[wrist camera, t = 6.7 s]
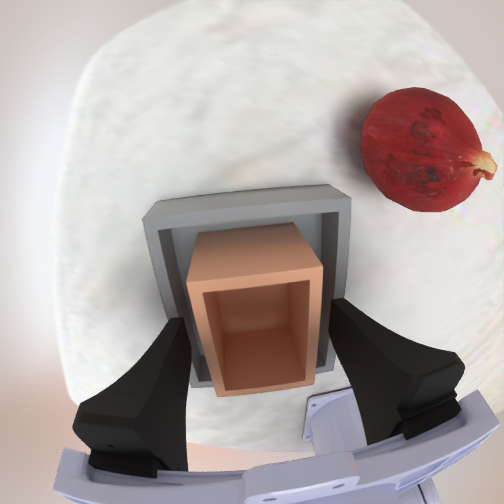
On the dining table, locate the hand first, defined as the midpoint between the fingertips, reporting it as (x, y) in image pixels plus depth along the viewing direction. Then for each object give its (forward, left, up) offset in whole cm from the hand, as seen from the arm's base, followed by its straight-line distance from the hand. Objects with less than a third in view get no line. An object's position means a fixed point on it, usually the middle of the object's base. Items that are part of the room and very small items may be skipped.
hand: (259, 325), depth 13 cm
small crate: (0, 0, -3) cm, 3 cm away
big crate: (0, 0, -4) cm, 4 cm away
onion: (+8, -8, -4) cm, 12 cm away
